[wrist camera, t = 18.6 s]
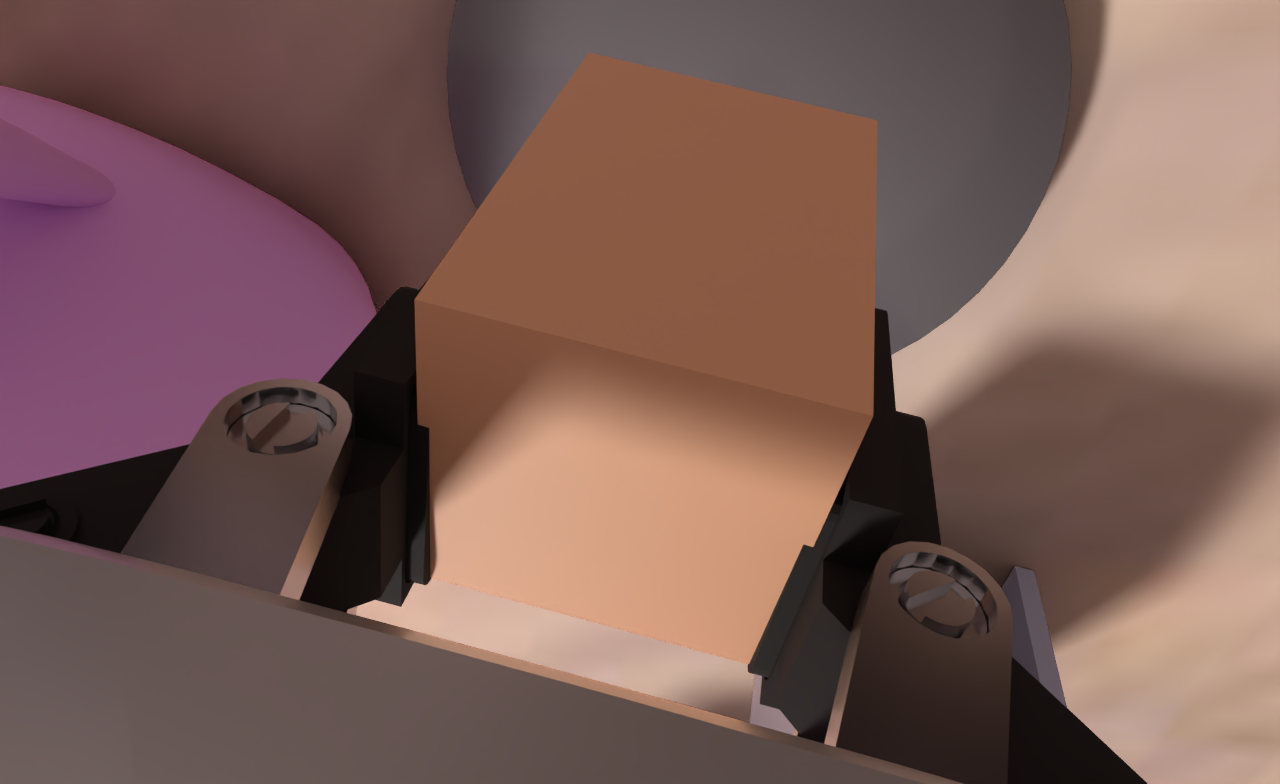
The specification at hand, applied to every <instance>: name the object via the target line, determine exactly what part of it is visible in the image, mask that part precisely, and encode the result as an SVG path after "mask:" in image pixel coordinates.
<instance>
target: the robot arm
mask: <svg viewBox="0 0 1280 784" xmlns="http://www.w3.org/2000/svg"><path fill="white" fill-rule="evenodd" d="M430 277H431V276H430ZM430 277H429V278H430ZM428 280H429V279H428ZM428 280H427V281H428ZM427 281H426V282H427ZM426 282H425V283H424V285H425V284H426ZM424 285H423V286H422V287H421V288H420V290H417V289H413V288H409V287H401V288H399V289H398V290H397V291H396V292H395V293H394V294H393V295H392V296H391V298H390V299H389V300H388V301H387V302H386V303H385V305H384V306H383V307H382V308H381V309H380V310H379V312H378V313H377V314H376V315H375V316H374V317H373V319H372V320H371V321H370V322H369V323H368V325H367V326H366V327H365V328H364V329H363V330H362V332H361V333H360V334H359V335H358V336H357V337H356V339H355V340H354V341H353V342H352V343H351V344H350V346H349V347H348V348H347V349H346V350H345V351H344V353H343V354H342V355H341V356H340V357H339V359H338V360H337V361H336V362H335V363H334V364H333V366H332V367H331V368H330V369H329V370H328V371H327V373H326V374H325V375H324V376H323V377H322V378H321V380H320V381H319V382H318V383H315V382H311V381H307V380H303V379H282V378H281V379H273V380H266V381H259V382H256V383H253V384H250V385H247V386H244V387H241V388H239V389H237V390H235V391H233V392H232V393H230V394H228V395H227V396H225V397H223V398H222V399H221V400H220V402H219V403H218V404H217V405H216V406H215V407H214V408H213V409H212V410H211V412H210V413H209V415H208V416H207V418H206V420H205V421H204V423H203V424H202V426H201V427H200V429H199V431H198V432H197V434H196V435H195V437H194V438H193V440H192V442H191V443H190V444H188V445H184V446H179V447H175V448H171V449H167V450H162V451H158V452H154V453H150V454H146V455H141V456H137V457H133V458H129V459H124V460H120V461H116V462H112V463H107V464H103V465H99V466H95V467H91V468H86V469H82V470H78V471H74V472H69V473H65V474H61V475H57V476H53V477H48V478H44V479H40V480H36V481H31V482H27V483H23V484H19V485H15V486H10V487H6V488H2V489H0V784H1147V783H1146V782H1145V781H1144V780H1143V779H1142V778H1141V777H1140V776H1139V775H1138V774H1137V773H1136V772H1135V771H1134V770H1132V769H1131V768H1130V767H1129V766H1128V765H1127V764H1126V763H1125V762H1124V761H1123V760H1122V759H1121V758H1120V757H1119V756H1118V755H1116V754H1115V753H1114V752H1113V751H1112V750H1111V749H1110V748H1109V747H1108V746H1107V745H1106V744H1105V743H1104V742H1103V741H1102V740H1100V739H1099V738H1098V737H1097V736H1096V735H1095V734H1094V733H1093V732H1092V731H1091V730H1090V729H1089V728H1088V727H1087V726H1086V725H1085V724H1083V723H1082V722H1081V721H1080V720H1079V719H1078V718H1077V717H1076V716H1075V715H1074V714H1073V713H1072V712H1071V711H1070V710H1069V709H1067V708H1066V707H1065V706H1064V705H1063V704H1062V703H1061V702H1060V701H1059V700H1058V699H1057V698H1056V697H1055V696H1054V695H1053V694H1051V693H1050V692H1049V691H1048V690H1047V689H1046V688H1045V687H1044V686H1043V685H1042V684H1041V683H1040V682H1039V681H1038V680H1037V679H1035V678H1034V677H1033V676H1032V675H1031V674H1030V673H1029V672H1028V671H1027V670H1026V669H1025V668H1024V667H1023V666H1022V665H1021V664H1019V663H1018V662H1017V661H1016V660H1015V659H1014V658H1013V657H1012V636H1013V618H1012V612H1011V606H1010V603H1009V601H1008V599H1007V598H1006V596H1005V594H1004V592H1003V590H1002V588H1001V587H1000V586H999V584H998V583H997V582H996V581H995V580H994V579H993V578H992V577H991V575H990V574H989V573H988V572H987V571H986V570H984V569H983V568H982V567H980V566H979V565H978V564H976V563H975V562H974V561H972V560H971V559H970V558H968V557H966V556H964V555H962V554H960V553H958V552H956V551H954V550H952V549H950V548H947V547H944V546H941V540H940V532H939V524H938V516H937V508H936V500H935V492H934V484H933V476H932V468H931V460H930V452H929V444H928V437H927V429H926V424H925V421H924V420H923V419H922V418H921V417H917V416H913V415H909V414H906V413H902V412H898V411H896V408H895V395H894V383H893V371H892V359H891V346H890V334H889V322H888V313H887V311H886V310H882V309H878V308H875V330H874V401H873V418H872V420H871V422H870V424H869V427H868V429H867V431H866V433H865V435H864V437H863V440H862V442H861V444H860V446H859V448H858V451H857V453H856V455H855V457H854V459H853V461H852V464H851V466H850V468H849V470H848V472H847V475H846V477H845V479H844V481H843V483H842V485H841V488H840V490H839V492H838V494H837V496H836V499H835V501H834V503H833V505H832V507H831V509H830V512H829V514H828V516H827V518H826V520H825V523H824V525H823V527H822V529H821V531H820V533H819V536H818V538H817V540H816V542H815V544H814V547H811V546H808V545H804V544H803V546H802V549H801V551H800V553H799V555H798V557H797V560H796V562H795V564H794V566H793V568H792V571H791V573H790V575H789V577H788V579H787V582H786V584H785V586H784V588H783V590H782V593H781V595H780V597H779V599H778V601H777V604H776V606H775V608H774V610H773V612H772V615H771V617H770V619H769V621H768V623H767V626H766V628H765V630H764V632H763V634H762V637H761V639H760V641H759V643H758V646H757V648H756V650H755V652H754V654H753V657H752V659H751V661H750V663H749V664H748V672H749V673H752V674H756V675H760V676H762V682H761V694H760V704H761V705H765V706H769V707H772V708H776V709H779V710H780V711H781V712H782V713H783V715H784V716H785V717H786V718H787V719H788V721H789V722H790V723H791V724H792V726H793V727H794V728H795V730H794V732H793V734H792V735H791V734H787V733H784V732H780V731H777V730H773V729H769V728H766V727H762V726H759V725H755V724H751V723H748V722H744V721H741V720H737V719H734V718H730V717H726V716H723V715H719V714H716V713H712V712H708V711H705V710H701V709H698V708H694V707H690V706H687V705H683V704H680V703H676V702H672V701H669V700H665V699H661V698H658V697H654V696H651V695H647V694H643V693H640V692H636V691H632V690H629V689H625V688H621V687H618V686H614V685H610V684H607V683H603V682H599V681H596V680H592V679H588V678H585V677H581V676H578V675H574V674H570V673H567V672H563V671H559V670H556V669H552V668H548V667H545V666H541V665H537V664H534V663H530V662H526V661H523V660H519V659H515V658H512V657H508V656H504V655H501V654H497V653H493V652H490V651H486V650H482V649H478V648H475V647H471V646H467V645H464V644H460V643H456V642H453V641H449V640H445V639H442V638H438V637H434V636H431V635H427V634H423V633H420V632H416V631H412V630H409V629H405V628H401V627H397V626H394V625H390V624H386V623H382V622H379V621H375V620H371V619H367V618H364V617H360V616H356V612H357V606H359V605H362V604H364V603H367V602H370V601H373V600H378V601H382V602H386V603H389V604H393V605H397V606H400V607H401V606H402V604H403V602H404V600H405V598H406V596H407V595H408V593H409V591H410V589H411V587H412V585H413V583H414V582H415V583H419V584H423V585H427V584H428V582H429V581H430V579H431V578H430V462H429V428H428V427H425V426H421V425H418V415H417V377H416V339H415V301H414V299H415V298H416V297H417V295H418V294H419V292H420V291H421V289H422V288H423V287H424Z"/></svg>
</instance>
